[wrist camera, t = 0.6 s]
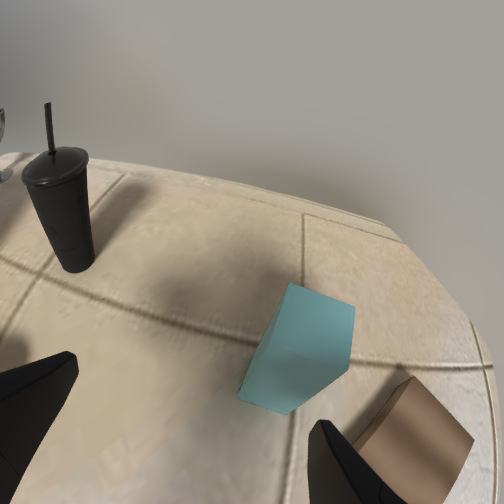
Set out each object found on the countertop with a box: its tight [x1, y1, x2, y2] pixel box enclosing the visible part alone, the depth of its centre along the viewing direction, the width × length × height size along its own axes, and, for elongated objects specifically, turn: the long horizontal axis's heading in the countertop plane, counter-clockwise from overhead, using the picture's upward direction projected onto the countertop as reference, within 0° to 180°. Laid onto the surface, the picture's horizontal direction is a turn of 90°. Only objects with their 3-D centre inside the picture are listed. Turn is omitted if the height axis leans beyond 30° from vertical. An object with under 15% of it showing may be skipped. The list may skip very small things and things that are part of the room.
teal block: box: [237, 282, 355, 415], centre depth 20 cm, size 5×5×12 cm
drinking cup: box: [21, 103, 95, 273], centre depth 23 cm, size 8×8×20 cm
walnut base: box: [352, 376, 474, 504], centre depth 18 cm, size 14×14×3 cm
